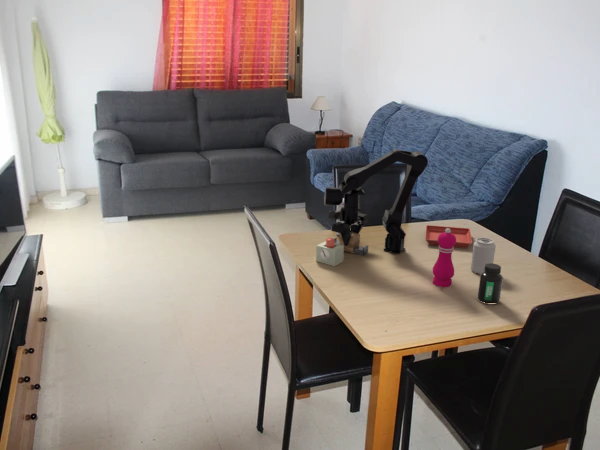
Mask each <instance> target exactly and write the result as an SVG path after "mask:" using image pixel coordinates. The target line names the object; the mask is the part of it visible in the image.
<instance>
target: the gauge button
mask: <svg viewBox="0 0 600 450" xmlns="http://www.w3.org/2000/svg"><path fill="white" fill-rule="evenodd" d="M325 241H326V247H328V248H334V247H335V239H334V237H327V238H325Z"/></svg>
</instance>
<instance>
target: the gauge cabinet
mask: <svg viewBox="0 0 600 450" xmlns="http://www.w3.org/2000/svg"><path fill="white" fill-rule="evenodd" d="M344 252H345V251H344V246H342V245H339V244H335V247H334V248H328V247H326V240H325V241H323V242H321V243H319V244H317V245H316V253H315V257H316V258H315V260H316V262H319V263H323V264H327V265H329V266H333V267H335V266H337V265H339V264H340V263H342V262H343V261H344Z"/></svg>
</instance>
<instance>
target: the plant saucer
mask: <svg viewBox="0 0 600 450" xmlns="http://www.w3.org/2000/svg"><path fill="white" fill-rule="evenodd" d="M447 228H449V229H450V230H451V232H450V233H452V234H454V235H455V237H456V244H455V245H454V246H453V247H454V248H460V249H466V248H468V247H470V245H472V244H473V241H472V234H471V229H470V228H469V227H468V228H467V227H466V228H465V227H455V226H443V225H425V236H424V239H425V241H426V243H427V244H428V245H430V246H439V243H438V236H439V235H440V234H441V233H443V232H445V230H446V229H447Z"/></svg>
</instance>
